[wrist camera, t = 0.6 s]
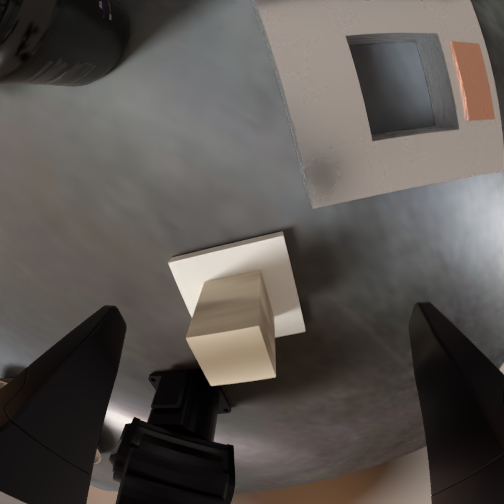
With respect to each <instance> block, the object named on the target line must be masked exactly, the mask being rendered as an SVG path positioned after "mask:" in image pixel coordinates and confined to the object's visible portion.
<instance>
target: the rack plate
mask: <svg viewBox="0 0 504 504" xmlns="http://www.w3.org/2000/svg"><path fill="white" fill-rule="evenodd" d="M251 2H252V5H253V8H254V11H255V14H256V16H257V19H258V22H259V25H260V28H261V31H262V35H263V38H264V41H265V44H266V47H267V50H268V53H269V57H270V60H271V63H272V67H273V70H274V73H275V77H276V80H277V83H278V87H279V90H280V94H281V98H282V101H283V105H284V108H285V112H286V116H287V119H288V123H289V127H290V131H291V135H292V139H293V143H294V147H295V151H296V155H297V159H298V163H299V167H300V171H301V175H302V180H303V184H304V188H305V193H306V196H307V198H308V200H309V202H310V204H311V206H312V208H313V209H315V208H320V207H324V206H329V205H333V204H338V203H342V202H347V201H351V200H356V199H360V198H365V197H370V196H375V195H379V194H384V193H389V192H394V191H398V190H403V189H408V188H413V187H418V186H423V185H428V184H433V183H438V182H444V181H449V180H454V179H459V178H465V177H470V176H476V175H481V174H487V173H492V172H498V171H504V144H503V133H502V125H501V117H500V110H499V103H498V97H497V92H496V87H495V82H494V77H493V72H492V68H491V64H490V60H489V56H488V52H487V49H486V45H485V42H484V38H483V35H482V32H481V29H480V26H479V23H478V20H477V17H476V14H475V11H474V9H473V6H472V3H471V1H470V0H251ZM391 42H416V44H417V47H418V51H419V54H420V58H421V61H422V65H423V69H424V73H425V77H426V81H427V86H428V90H429V95H430V99H431V104H432V110H433V115H434V121H435V126H431V127H423V128H415V129H407V130H400V131H393V132H387V133H380V134H374V135H371V131H370V127H369V122H368V117H367V113H366V108H365V104H364V100H363V96H362V92H361V88H360V84H359V80H358V76H357V73H356V69H355V66H354V62H353V59H352V55H351V52H350V49H349V45H360V44H372V43H391Z"/></svg>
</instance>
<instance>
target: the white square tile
mask: <svg viewBox="0 0 504 504" xmlns="http://www.w3.org/2000/svg"><path fill="white" fill-rule="evenodd" d="M168 264H169V266H170V269H171V271H172V273H173V276H174V278H175V281H176V283H177V285H178V288H179V290H180V292H181V294H182V297H183V299H184V301H185V304H186V306H187V308H188V310H189V313H190V315H191V317H193V314H194V311H195V308H196V305H197V302H198V299H199V296H200V293H201V290H202V287H203V284H204V282H206V281H211V280H215V279H220V278H225V277H229V276H234V275H239V274H243V273H248V272H252V271H257V270H261V273H262V276H263V280H264V283H265V287H266V290H267V293H268V297H269V300H270V304H271V307H272V311H273V314H274V325H275V338H276V337H281V336H286V335H291V334H296V333H301V332H306V330H305V324H304V320H303V315H302V311H301V306H300V302H299V298H298V293H297V289H296V285H295V280H294V276H293V272H292V267H291V263H290V259H289V255H288V251H287V247H286V243H285V238H284V234H283V231H281V232H277V233H272V234H268V235H264V236H260V237H255V238H251V239H247V240H243V241H239V242H234V243H230V244H226V245H222V246H218V247H213V248H209V249H205V250H201V251H197V252H193V253H189V254H185V255H180V256H176V257H172V258H171V259H170V261H169V262H168Z"/></svg>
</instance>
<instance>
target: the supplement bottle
mask: <svg viewBox="0 0 504 504" xmlns="http://www.w3.org/2000/svg"><path fill="white" fill-rule="evenodd" d="M129 31H130V24H129V18H128V15H127V13H126V11H125V9H124V8H123V7H122V6H121V5H120V4H119V3H118V2H116V1H115V0H0V84H34V85H56V86H83V85H87V84H89V83H92V82H94V81H96V80H98V79H99V78H101V77H102V76H104V75H105V74H106V73H107V72H108V71H109V70H110V69H111V68H112V67H113V66H114V65H115V64H116V62H117V61H118V60H119V58H120V57H121V55H122V53H123V51H124V49H125V47H126V44H127V41H128V37H129Z"/></svg>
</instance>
